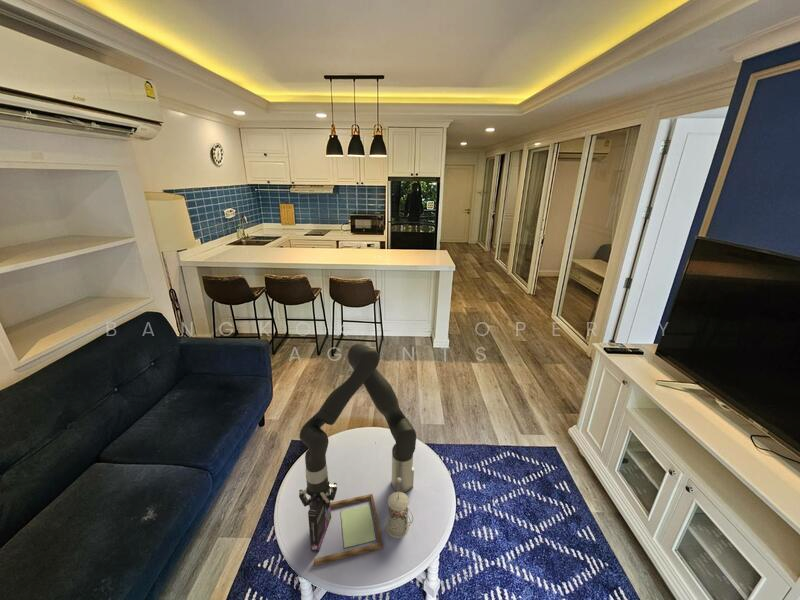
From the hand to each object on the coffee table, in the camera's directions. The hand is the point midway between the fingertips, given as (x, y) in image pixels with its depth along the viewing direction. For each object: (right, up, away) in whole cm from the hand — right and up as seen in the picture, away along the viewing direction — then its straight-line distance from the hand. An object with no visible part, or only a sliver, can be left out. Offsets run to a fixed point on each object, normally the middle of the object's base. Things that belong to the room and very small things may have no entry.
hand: (319, 509), depth 122 cm
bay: (+9, -12, +7) cm, 16 cm away
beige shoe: (+30, -12, +7) cm, 33 cm away
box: (0, -12, +4) cm, 13 cm away
